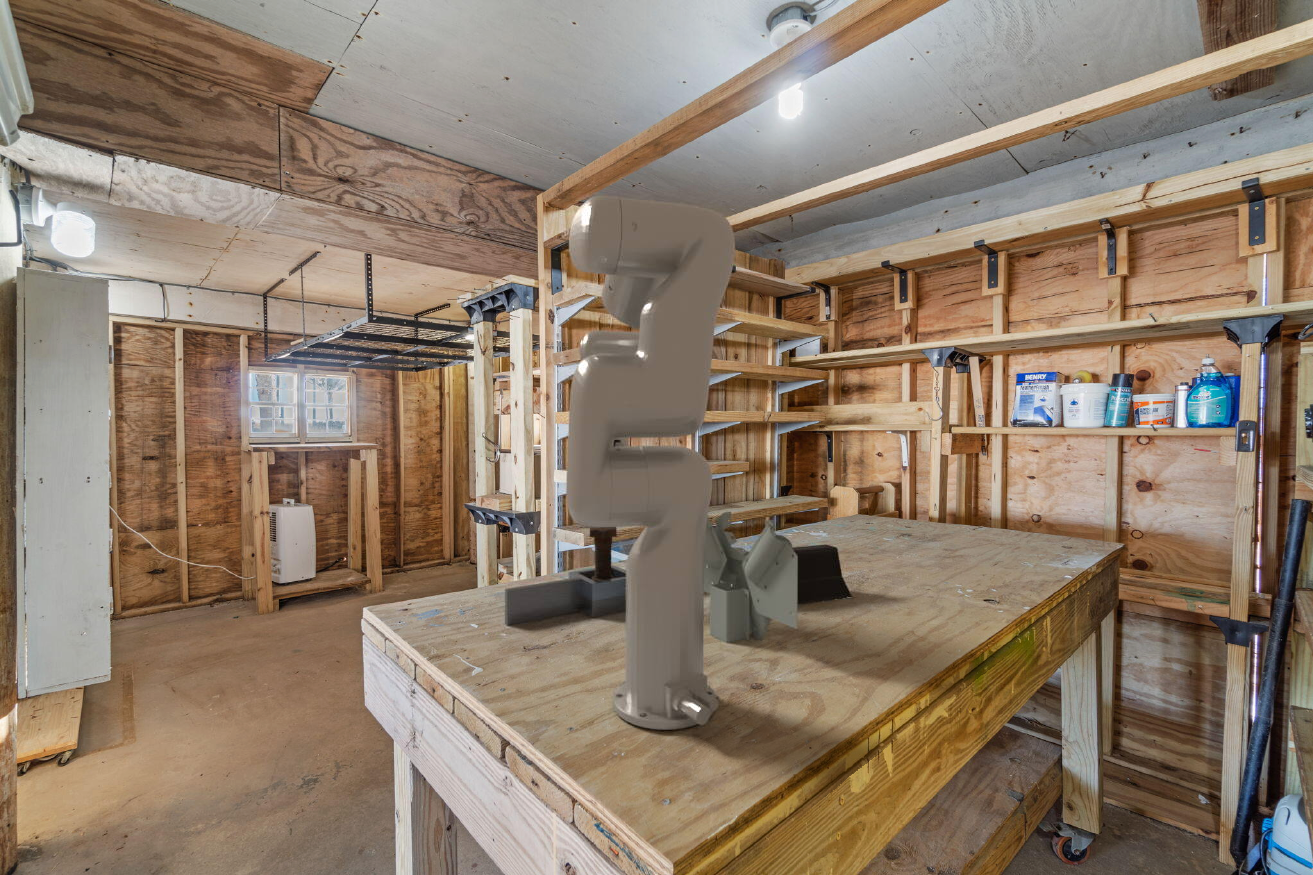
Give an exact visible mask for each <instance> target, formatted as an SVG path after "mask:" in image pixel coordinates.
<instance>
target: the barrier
mask: <svg viewBox="0 0 1313 875" xmlns="http://www.w3.org/2000/svg"><path fill="white" fill-rule="evenodd" d="M792 549H793V551H794V552H795V553H796V555H797V556H798V601H797V606H801V605H808V604H814V603H815V604H816V603H822V602H823V601H824V602H830V601H836V600H835V599H838V600H844V599H843V598H846V599H848V598H847V597H852V598H853V596H852V594H851V592H850V590H849V587H848V585H847V583H846V581H845V579H844V578H843V573H842V567H841V560H840V556H839V554H840V553H839V550H838V547H835V546H832V545H830V544H827V543H826V544H817V545H807V546H806V545H805V546H793V548H792ZM747 552H748V553H749V552H750V551H747ZM748 553H746V554H744V555H748ZM792 556H794V555H792Z"/></svg>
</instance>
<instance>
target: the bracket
mask: <svg viewBox="0 0 1313 875" xmlns="http://www.w3.org/2000/svg"><path fill="white" fill-rule="evenodd" d="M714 522H715V525H716V526H715V527H714V526H713V524H712V521H711V520H710V517H709V515H708V516H707V522H706V531H705V544H704V593H707V594H709V596H710V598H709V599H710V601H709V605H710V611H709V612H710V614H709V622H710V624H709V634H710V635H711V636H712V637H714V638H716V639H718V640H720V641H722V642H725V643H728V644H729V643H733V642H737V641H740V640H741V641H742V640H744V641H747V642H749V641H750V633H751V637H753V638H755V639H757V640H759V641H763V640H764V639H765V635H766V633H767V631H768V627H769V625H770V623H771V620H774V621H777V622H779V623H781V624H784V625H787V626H789V627H792V628H794V629H798V605H797V601H798V556H797V555H796V553H795V552H794V551H793V549H792V548H793V547H794V546H793V544H792V542H791V541H790V540H789V538H787V537H786V536H784V535H781V534H777V533H776V532H775V519H770V520H769V519H768V520H765V527H764V528H763V529H762V531H761V533H760V534H759V536H758V538H757V539H756V540H755V542H754V544H753V546H752V547H751V548H750V550H749V551H748V550H746V549H744V548H743V547H733V546H732V545H734V544H735V543H737V539H736V537H735V535H734V533H733V532H730V531H725V530H726V529H727V528H728V527H730V526H732V511H727V512H723V513H721V514H720V516H719V517H718V518H717V519H716V520H715V521H714ZM732 537H733V538H732ZM748 552H749V553H748ZM746 553H748V555H744V554H746ZM792 555H794V556H792Z"/></svg>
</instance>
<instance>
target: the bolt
mask: <svg viewBox="0 0 1313 875" xmlns="http://www.w3.org/2000/svg"><path fill="white" fill-rule="evenodd" d="M617 528H618V527H599V528H596V527H589V538H593V540H594V543H593V544H594V568H595V576H593V577H592V580H593V581H595V582H596V581H602V580H608V579H614V576H612V575H611V566H612V544H613V538H616V537H617V534H618V532H617Z"/></svg>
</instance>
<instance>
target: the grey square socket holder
mask: <svg viewBox="0 0 1313 875" xmlns="http://www.w3.org/2000/svg"><path fill="white" fill-rule="evenodd" d="M611 575H612V576H614V579H608V580H602V581H596V582H595V581H593V580H592V577H593V576H595V567H594V568H590V569H589V568H588V569H581V570H576V571H568V578H565V579H560V580H554V581H552V580H551V581H547V582H541V583H533V584H528V585H522V586H516V587H510V588H508V587H507V588H504V624H505V625H506V626H511V625H512V626H513V625H516V624H522V623H529V622H532V621H537V620H538V621H539V620H541V619H547V618H552V617H558V616H563V615H568V614H569V615H570V614H573V613H578V612H582V613H584V614H585V615H587V616H589V617H591V618H592V619H593V618H597V617H598V618H599V617H602V616H607V615H612V614H616V613H622V612H626V569H623V568H621V567H619V566H617V565H614V564H613V565H611Z"/></svg>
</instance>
